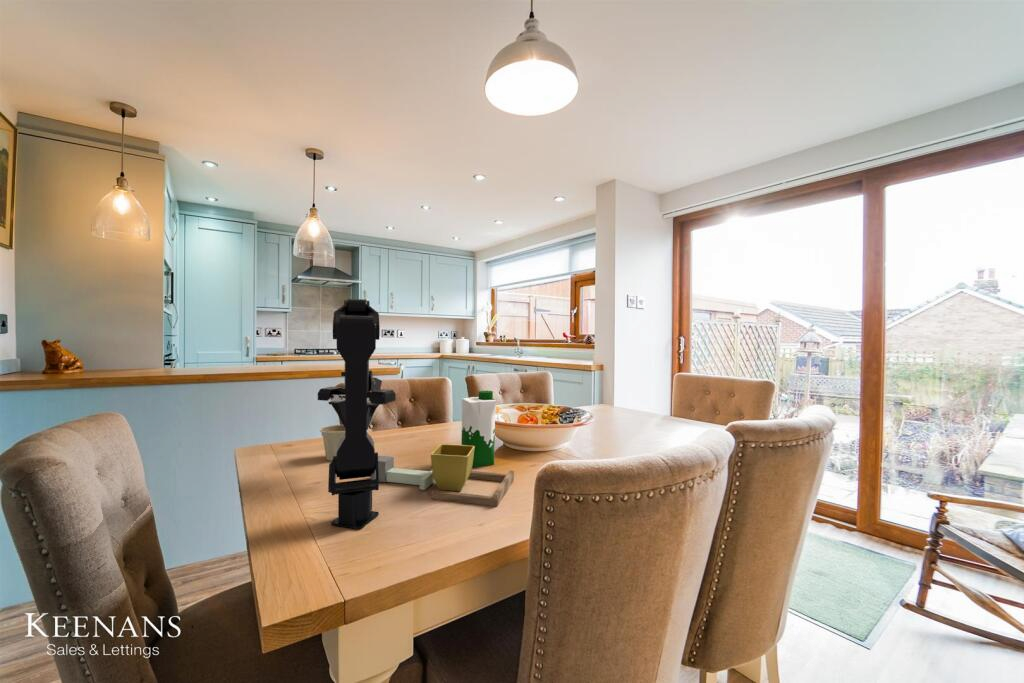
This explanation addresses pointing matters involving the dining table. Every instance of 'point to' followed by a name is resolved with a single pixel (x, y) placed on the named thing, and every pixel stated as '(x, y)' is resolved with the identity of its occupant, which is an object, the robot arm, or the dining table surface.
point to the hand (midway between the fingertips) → (356, 429)
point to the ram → (402, 474)
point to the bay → (480, 499)
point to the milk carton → (479, 427)
